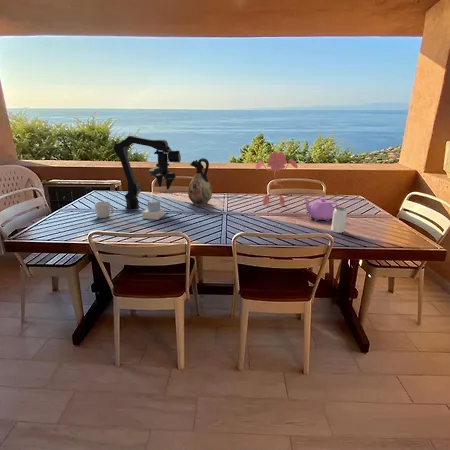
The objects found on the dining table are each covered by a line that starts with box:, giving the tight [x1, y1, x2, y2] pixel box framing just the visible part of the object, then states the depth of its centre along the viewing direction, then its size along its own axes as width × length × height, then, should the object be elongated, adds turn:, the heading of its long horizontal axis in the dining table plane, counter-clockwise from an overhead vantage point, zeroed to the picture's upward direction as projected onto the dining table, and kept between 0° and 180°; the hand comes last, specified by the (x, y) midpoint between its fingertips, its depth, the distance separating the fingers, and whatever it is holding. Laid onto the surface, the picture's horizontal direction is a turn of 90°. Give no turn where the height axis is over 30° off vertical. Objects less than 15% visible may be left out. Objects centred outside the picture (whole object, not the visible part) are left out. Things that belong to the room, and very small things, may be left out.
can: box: [330, 206, 348, 234], centre depth 176 cm, size 6×6×12 cm
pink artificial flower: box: [255, 150, 298, 211], centre depth 216 cm, size 15×26×35 cm, turn 89°
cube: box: [147, 199, 161, 212], centre depth 195 cm, size 5×5×5 cm
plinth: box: [142, 208, 165, 220], centre depth 196 cm, size 9×9×4 cm
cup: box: [94, 201, 115, 219], centre depth 192 cm, size 11×8×8 cm
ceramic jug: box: [187, 157, 213, 207], centre depth 219 cm, size 17×15×30 cm
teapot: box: [303, 197, 339, 222], centre depth 196 cm, size 20×14×12 cm
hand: (163, 188), depth 208 cm, fingers open, 9 cm apart
